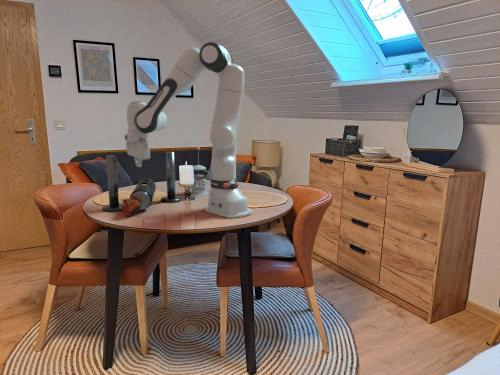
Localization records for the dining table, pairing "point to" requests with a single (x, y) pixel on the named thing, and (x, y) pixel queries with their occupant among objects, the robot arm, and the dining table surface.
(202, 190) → the french press
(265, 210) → the dining table surface
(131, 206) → the pomegranate
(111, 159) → the posts
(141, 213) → the dining table surface
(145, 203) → the muzzle brake
